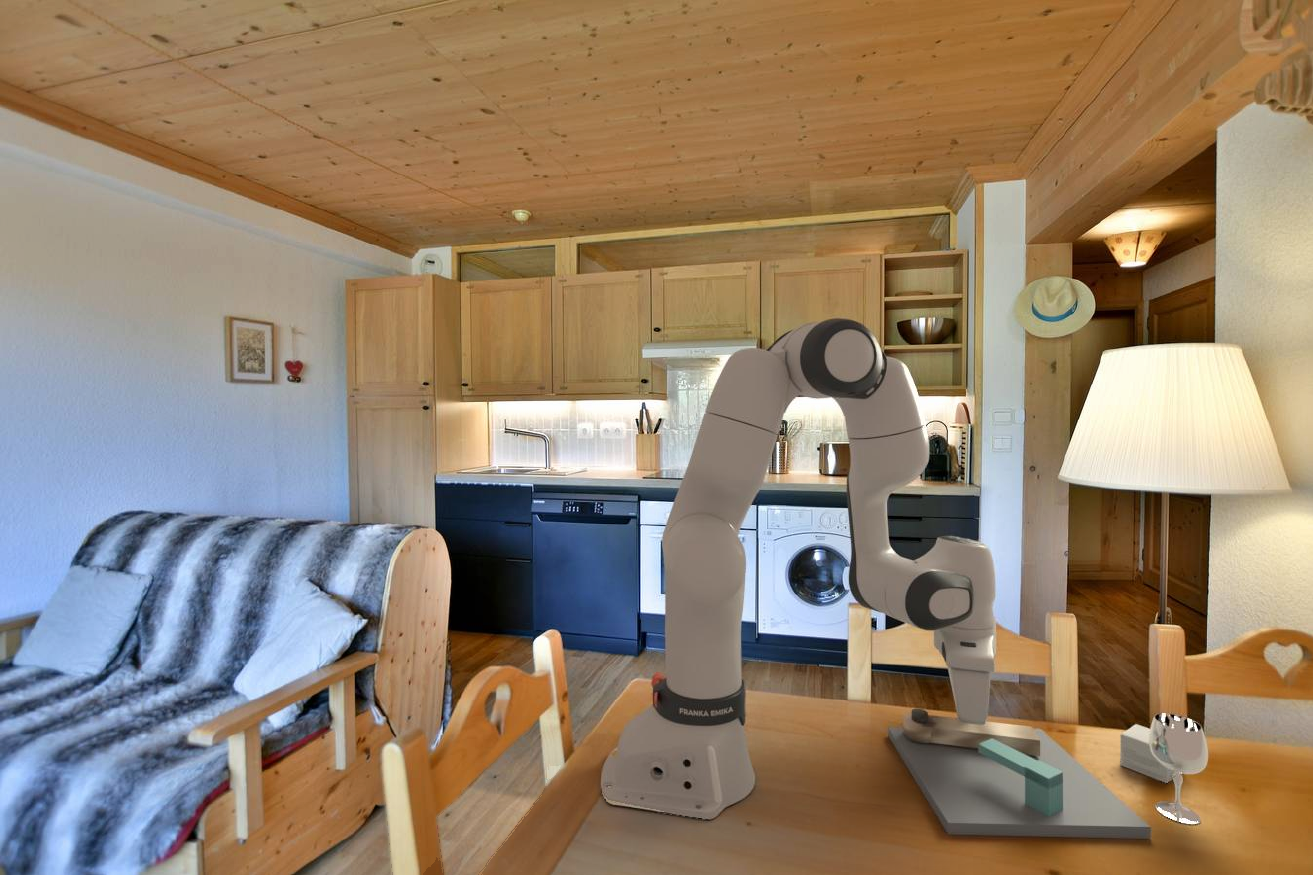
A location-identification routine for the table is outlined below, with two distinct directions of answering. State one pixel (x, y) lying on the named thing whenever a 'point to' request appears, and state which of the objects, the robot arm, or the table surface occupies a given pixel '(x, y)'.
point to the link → (968, 732)
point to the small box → (1141, 754)
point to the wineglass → (1178, 758)
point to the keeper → (1030, 776)
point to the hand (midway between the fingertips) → (965, 723)
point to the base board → (1012, 794)
